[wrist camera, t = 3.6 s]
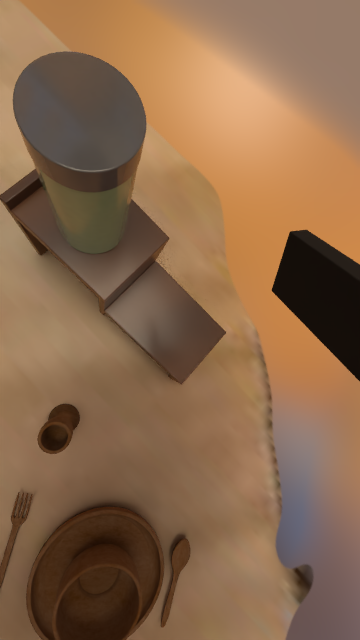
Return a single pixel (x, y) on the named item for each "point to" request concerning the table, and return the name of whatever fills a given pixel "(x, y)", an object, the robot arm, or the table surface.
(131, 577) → the place setting
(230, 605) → the table surface
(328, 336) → the robot arm
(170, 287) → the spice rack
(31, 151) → the spice jar
